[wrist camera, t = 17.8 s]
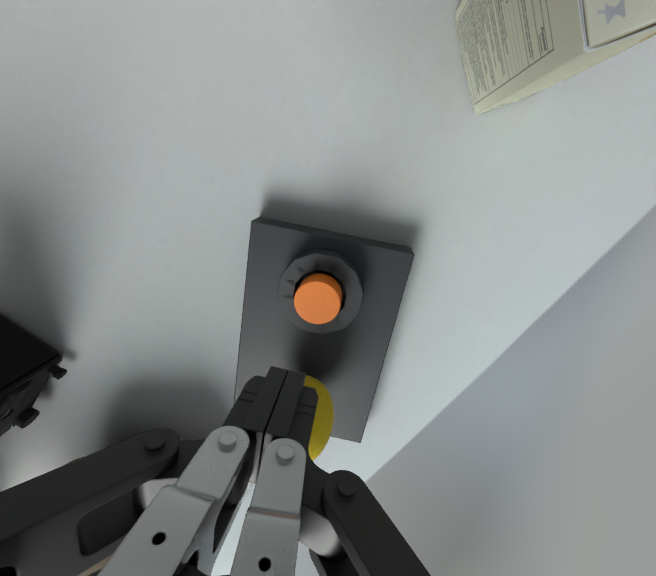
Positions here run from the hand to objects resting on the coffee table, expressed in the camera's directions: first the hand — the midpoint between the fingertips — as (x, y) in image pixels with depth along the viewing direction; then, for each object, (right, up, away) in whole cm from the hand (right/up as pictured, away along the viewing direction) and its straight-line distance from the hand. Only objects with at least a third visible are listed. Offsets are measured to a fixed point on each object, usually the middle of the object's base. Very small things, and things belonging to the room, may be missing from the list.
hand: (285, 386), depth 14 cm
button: (+1, +4, +10) cm, 11 cm away
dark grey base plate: (+1, 0, +15) cm, 15 cm away
